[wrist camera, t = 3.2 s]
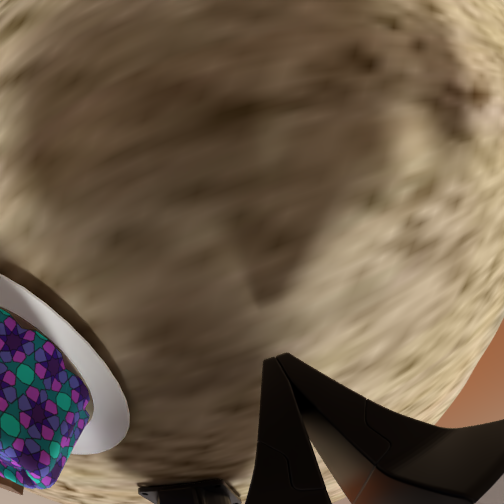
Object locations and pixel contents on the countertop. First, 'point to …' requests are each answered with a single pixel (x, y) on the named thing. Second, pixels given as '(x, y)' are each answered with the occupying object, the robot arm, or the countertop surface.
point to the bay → (11, 485)
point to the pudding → (50, 393)
